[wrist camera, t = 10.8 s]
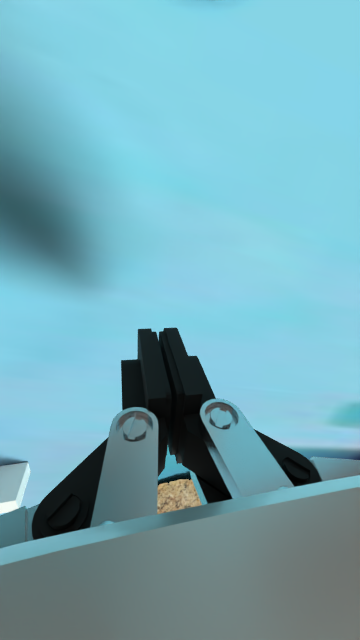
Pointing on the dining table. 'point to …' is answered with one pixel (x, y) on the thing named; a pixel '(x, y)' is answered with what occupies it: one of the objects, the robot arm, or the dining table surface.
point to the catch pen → (13, 485)
